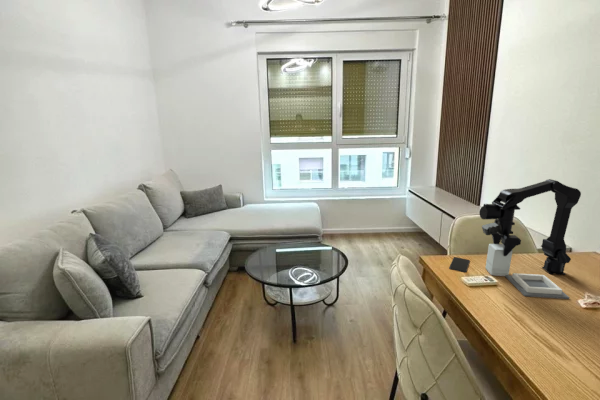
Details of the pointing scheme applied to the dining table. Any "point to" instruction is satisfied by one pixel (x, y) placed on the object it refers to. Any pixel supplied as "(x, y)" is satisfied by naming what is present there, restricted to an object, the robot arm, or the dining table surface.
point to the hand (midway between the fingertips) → (500, 251)
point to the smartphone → (459, 264)
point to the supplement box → (498, 260)
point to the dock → (536, 286)
